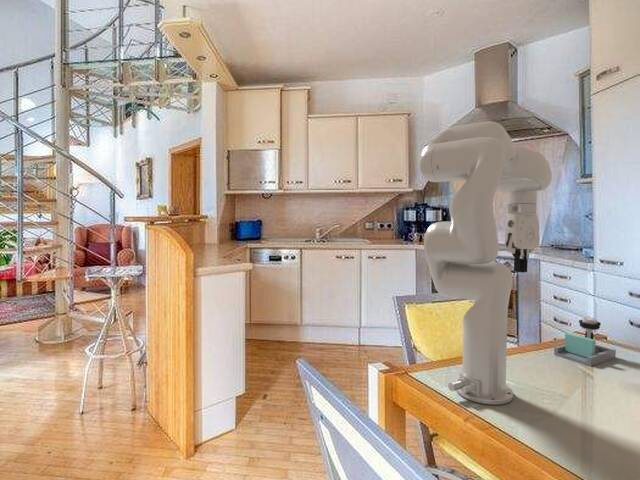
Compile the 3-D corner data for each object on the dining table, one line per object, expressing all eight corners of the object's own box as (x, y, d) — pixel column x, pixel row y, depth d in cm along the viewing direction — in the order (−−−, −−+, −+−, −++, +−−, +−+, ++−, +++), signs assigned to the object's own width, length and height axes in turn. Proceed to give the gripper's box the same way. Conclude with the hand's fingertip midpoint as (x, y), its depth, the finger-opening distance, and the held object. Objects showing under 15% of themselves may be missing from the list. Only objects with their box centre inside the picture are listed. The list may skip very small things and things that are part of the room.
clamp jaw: (591, 358, 108) (592, 340, 107) (564, 350, 114) (565, 333, 114) (594, 357, 108) (595, 339, 108) (567, 349, 115) (568, 332, 115)
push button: (598, 357, 109) (599, 323, 109) (576, 353, 113) (577, 320, 112) (600, 351, 114) (601, 318, 114) (578, 347, 118) (579, 315, 117)
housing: (590, 366, 105) (590, 358, 105) (554, 354, 114) (554, 347, 114) (615, 357, 111) (615, 349, 111) (579, 347, 120) (579, 340, 120)
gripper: (517, 210, 106) (515, 275, 107) (550, 209, 112) (548, 271, 114) (493, 210, 112) (492, 272, 113) (526, 210, 119) (524, 268, 120)
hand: (520, 271), depth 113 cm, fingers closed
